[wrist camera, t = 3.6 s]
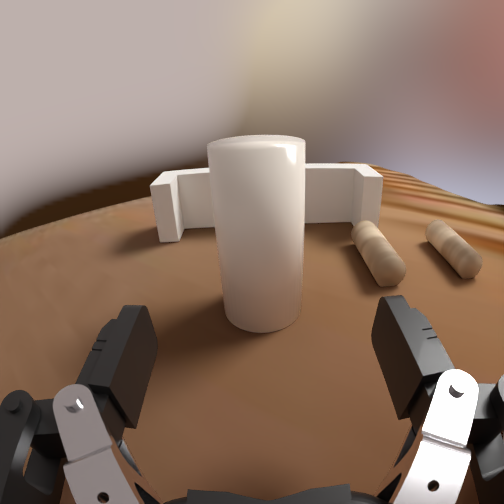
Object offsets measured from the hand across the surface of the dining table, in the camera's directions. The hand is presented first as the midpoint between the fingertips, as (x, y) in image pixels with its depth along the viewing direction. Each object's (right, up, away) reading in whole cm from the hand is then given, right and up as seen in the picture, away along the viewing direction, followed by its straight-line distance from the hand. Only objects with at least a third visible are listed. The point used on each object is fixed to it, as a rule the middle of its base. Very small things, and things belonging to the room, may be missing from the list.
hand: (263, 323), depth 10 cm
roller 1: (+11, +2, +15) cm, 19 cm away
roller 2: (+18, +4, +14) cm, 23 cm away
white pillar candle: (0, -1, +11) cm, 11 cm away
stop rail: (+1, +5, +22) cm, 23 cm away
